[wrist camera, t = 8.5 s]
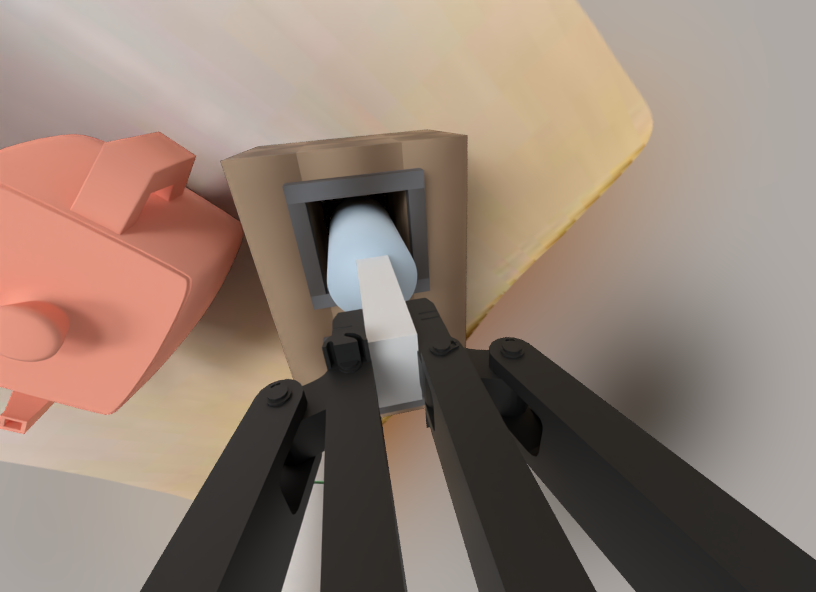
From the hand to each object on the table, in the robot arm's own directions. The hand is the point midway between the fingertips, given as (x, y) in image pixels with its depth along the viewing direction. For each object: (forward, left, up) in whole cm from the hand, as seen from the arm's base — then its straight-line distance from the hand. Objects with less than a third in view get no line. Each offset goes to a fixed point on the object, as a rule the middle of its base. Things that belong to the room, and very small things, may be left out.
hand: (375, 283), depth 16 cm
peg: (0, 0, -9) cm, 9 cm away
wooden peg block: (0, -5, -17) cm, 17 cm away
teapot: (-18, -1, -17) cm, 25 cm away
